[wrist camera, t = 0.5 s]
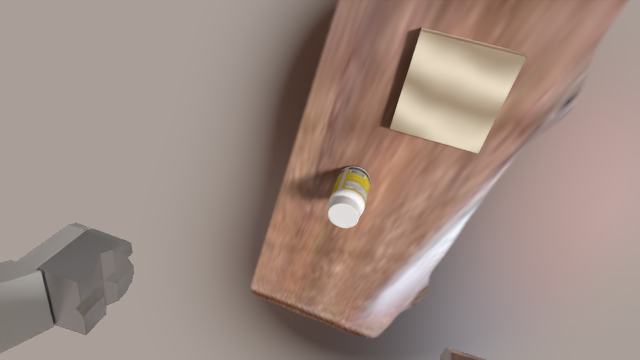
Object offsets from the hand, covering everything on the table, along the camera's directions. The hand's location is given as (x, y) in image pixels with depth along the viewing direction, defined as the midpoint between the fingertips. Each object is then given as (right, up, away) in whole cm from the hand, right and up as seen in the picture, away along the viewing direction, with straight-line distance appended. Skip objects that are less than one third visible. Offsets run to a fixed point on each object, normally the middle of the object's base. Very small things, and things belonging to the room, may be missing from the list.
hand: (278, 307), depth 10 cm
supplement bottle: (+6, +3, +46) cm, 47 cm away
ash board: (+16, +13, +35) cm, 41 cm away
